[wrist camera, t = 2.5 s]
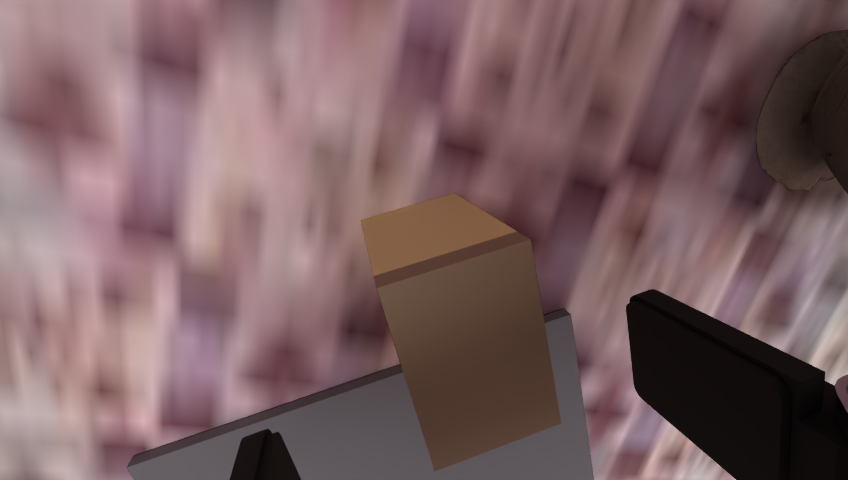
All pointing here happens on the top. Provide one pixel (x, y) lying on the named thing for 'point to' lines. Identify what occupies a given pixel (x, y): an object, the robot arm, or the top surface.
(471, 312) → the block
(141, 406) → the top surface
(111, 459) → the top surface
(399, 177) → the top surface
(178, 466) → the mat
